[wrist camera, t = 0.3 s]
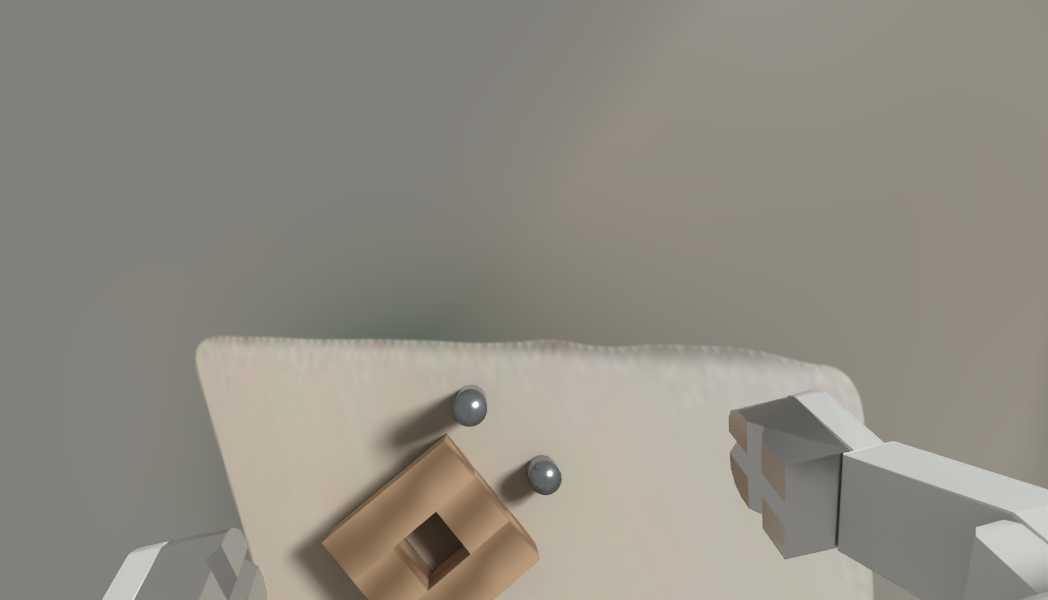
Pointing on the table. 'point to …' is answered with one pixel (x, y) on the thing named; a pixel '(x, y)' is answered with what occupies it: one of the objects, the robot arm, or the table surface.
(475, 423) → the tall pin
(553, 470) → the short pin
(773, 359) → the table surface
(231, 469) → the table surface
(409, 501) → the hole block
